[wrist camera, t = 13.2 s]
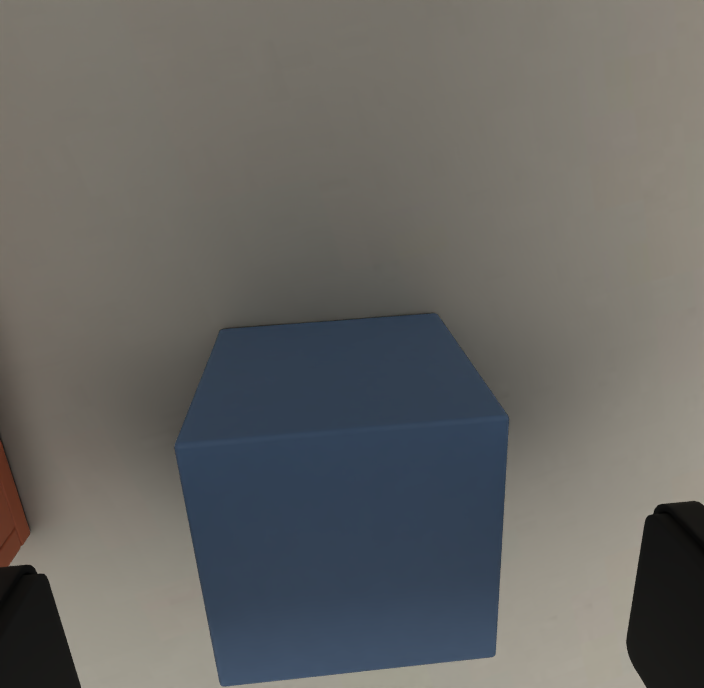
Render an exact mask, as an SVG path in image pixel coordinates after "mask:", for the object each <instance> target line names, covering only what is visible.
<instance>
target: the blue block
mask: <svg viewBox="0 0 704 688" xmlns="http://www.w3.org/2000/svg"><path fill="white" fill-rule="evenodd" d="M508 428H509V417H508V415H507V413H506V412H505V410H504V409H503V408H502V406H501V405H500V403H499V402H498V400H497V399H496V397H495V396H494V395H493V393H492V392H491V390H490V389H489V387H488V386H487V385H486V383H485V382H484V380H483V379H482V377H481V376H480V375H479V373H478V372H477V370H476V369H475V367H474V366H473V364H472V363H471V362H470V360H469V359H468V357H467V356H466V354H465V353H464V352H463V350H462V349H461V347H460V346H459V344H458V343H457V342H456V340H455V339H454V337H453V336H452V334H451V333H450V331H449V330H448V329H447V327H446V326H445V324H444V323H443V321H442V320H441V319H440V317H439V316H438V314H436V313H431V314H418V315H405V316H391V317H378V318H365V319H351V320H338V321H325V322H311V323H298V324H285V325H271V326H258V327H245V328H231V329H222V330H220V331H219V334H218V336H217V339H216V341H215V344H214V346H213V349H212V352H211V354H210V357H209V359H208V362H207V364H206V367H205V369H204V372H203V374H202V377H201V379H200V382H199V384H198V387H197V390H196V392H195V395H194V397H193V400H192V402H191V405H190V407H189V410H188V412H187V415H186V417H185V420H184V422H183V425H182V428H181V430H180V433H179V435H178V438H177V440H176V443H175V446H174V449H175V454H176V459H177V464H178V470H179V475H180V480H181V485H182V490H183V495H184V501H185V506H186V511H187V516H188V521H189V527H190V532H191V537H192V542H193V547H194V553H195V558H196V563H197V568H198V573H199V579H200V584H201V589H202V594H203V599H204V604H205V610H206V615H207V620H208V625H209V630H210V636H211V641H212V646H213V651H214V656H215V662H216V667H217V672H218V677H219V682H220V685H221V686H224V687H225V686H234V685H243V684H252V683H261V682H270V681H279V680H288V679H298V678H307V677H316V676H325V675H334V674H343V673H352V672H361V671H370V670H379V669H388V668H398V667H407V666H416V665H425V664H434V663H443V662H452V661H461V660H470V659H479V658H489V657H493V656H495V654H496V638H497V621H498V603H499V586H500V568H501V551H502V533H503V516H504V498H505V481H506V463H507V446H508Z"/></svg>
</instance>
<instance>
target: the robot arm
mask: <svg viewBox="0 0 704 688" xmlns="http://www.w3.org/2000/svg"><path fill="white" fill-rule="evenodd" d="M626 644H627V650H628V654H629V657H630V660H631V662H632V664H633V666H634V668H635V669H636V671H637V673H638V674H639V676H640V678H641V679H642V681H643V682H644V684H645V686H646V687H647V688H704V505H703V504H701V503H700V502H696V501H689V502H678V503H668V504H661V505H658V506H657V507H656V508H655V510H654V513H653V515H648V517H647V518H646V520H645V524H644V530H643V537H642V543H641V550H640V556H639V562H638V569H637V575H636V581H635V588H634V594H633V601H632V607H631V613H630V620H629V626H628V632H627V640H626ZM0 688H81V685H80V682H79V679H78V675H77V672H76V669H75V666H74V662H73V659H72V656H71V653H70V649H69V646H68V643H67V639H66V636H65V633H64V630H63V626H62V623H61V620H60V617H59V613H58V610H57V607H56V604H55V600H54V597H53V594H52V590H51V587H50V584H49V581H48V578H47V576H46V575H45V574H37V572H36V570H35V568H34V567H33V566H31V565H19V566H9V567H0Z"/></svg>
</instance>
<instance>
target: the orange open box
mask: <svg viewBox="0 0 704 688" xmlns="http://www.w3.org/2000/svg"><path fill="white" fill-rule="evenodd" d="M29 535H30V530H29V527H28V524H27V521H26V517H25V514H24V511H23V508H22V505H21V502H20V499H19V496H18V493H17V489H16V486H15V483H14V480H13V477H12V474H11V471H10V468H9V464H8V461H7V458H6V455H5V452H4V449H3V446H2V443H1V440H0V567H8V566H9V565H10V563H11V562H12V560H13V559H14V557H15V555H16V554H17V552H18V551H19V549H20V547H21V546H22V545H23V544H24V542H25V541H26V539H27V538H28V536H29Z"/></svg>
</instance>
